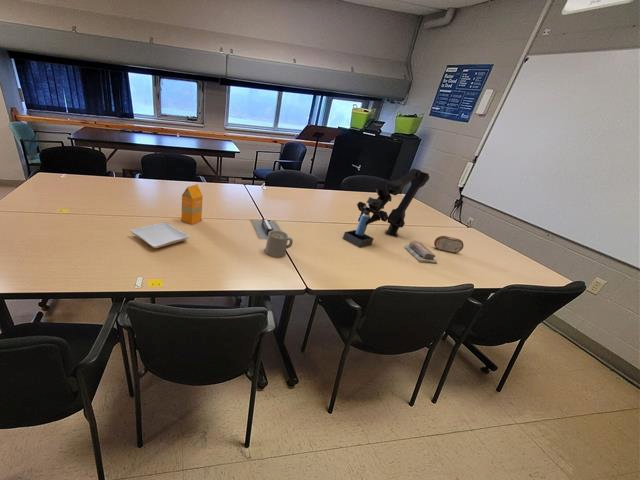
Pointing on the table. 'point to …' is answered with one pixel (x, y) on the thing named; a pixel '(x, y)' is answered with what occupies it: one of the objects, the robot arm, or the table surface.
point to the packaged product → (420, 252)
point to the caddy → (358, 239)
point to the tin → (448, 244)
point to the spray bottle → (363, 223)
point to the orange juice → (192, 204)
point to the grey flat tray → (264, 227)
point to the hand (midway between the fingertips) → (362, 222)
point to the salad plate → (160, 234)
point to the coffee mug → (277, 243)
